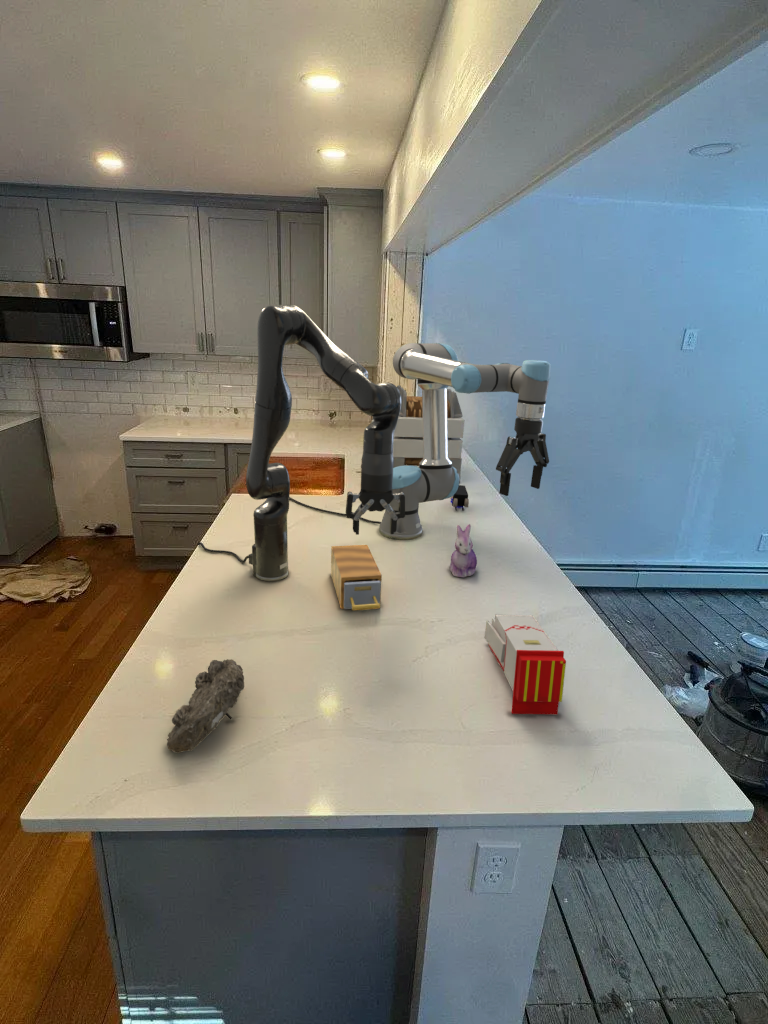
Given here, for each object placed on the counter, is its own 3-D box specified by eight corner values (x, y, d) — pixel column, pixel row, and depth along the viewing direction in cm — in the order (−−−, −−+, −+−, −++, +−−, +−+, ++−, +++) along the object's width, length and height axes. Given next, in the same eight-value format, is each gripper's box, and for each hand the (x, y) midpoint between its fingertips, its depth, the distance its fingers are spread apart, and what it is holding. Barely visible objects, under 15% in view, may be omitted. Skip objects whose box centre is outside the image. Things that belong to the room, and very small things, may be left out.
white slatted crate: (382, 463, 289) (386, 382, 275) (445, 464, 293) (451, 384, 279) (390, 482, 257) (394, 392, 243) (460, 483, 261) (468, 394, 247)
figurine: (459, 581, 167) (464, 533, 161) (440, 567, 175) (444, 521, 170) (485, 575, 171) (490, 529, 166) (465, 562, 179) (470, 517, 174)
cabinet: (380, 606, 151) (381, 575, 148) (340, 608, 149) (341, 577, 146) (366, 572, 170) (367, 544, 167) (331, 574, 167) (331, 546, 164)
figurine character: (468, 516, 224) (463, 500, 237) (471, 498, 221) (465, 483, 234) (452, 515, 224) (447, 499, 237) (453, 498, 220) (449, 482, 234)
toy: (530, 600, 137) (574, 657, 108) (525, 651, 140) (567, 720, 111) (480, 599, 137) (511, 656, 107) (477, 651, 139) (506, 719, 110)
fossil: (192, 660, 117) (244, 628, 112) (224, 691, 120) (276, 661, 115) (142, 746, 98) (202, 712, 93) (182, 779, 101) (242, 748, 96)
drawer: (384, 617, 144) (385, 592, 141) (347, 620, 142) (348, 595, 139) (366, 574, 166) (367, 552, 164) (334, 576, 164) (334, 554, 162)
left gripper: (348, 474, 129) (346, 539, 134) (409, 474, 131) (405, 539, 136) (345, 465, 136) (344, 528, 141) (404, 465, 138) (400, 527, 143)
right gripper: (509, 424, 147) (499, 501, 154) (568, 417, 161) (557, 488, 169) (488, 419, 153) (480, 493, 160) (547, 412, 167) (537, 481, 174)
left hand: (374, 533), depth 139 cm, fingers open, 8 cm apart
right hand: (519, 491), depth 164 cm, fingers open, 13 cm apart
